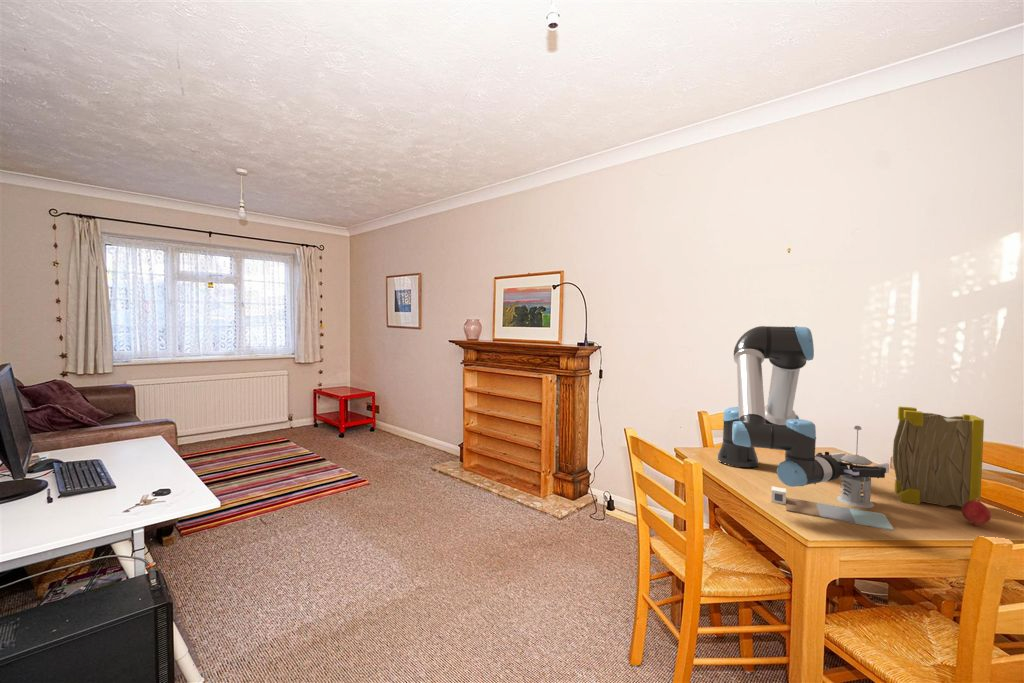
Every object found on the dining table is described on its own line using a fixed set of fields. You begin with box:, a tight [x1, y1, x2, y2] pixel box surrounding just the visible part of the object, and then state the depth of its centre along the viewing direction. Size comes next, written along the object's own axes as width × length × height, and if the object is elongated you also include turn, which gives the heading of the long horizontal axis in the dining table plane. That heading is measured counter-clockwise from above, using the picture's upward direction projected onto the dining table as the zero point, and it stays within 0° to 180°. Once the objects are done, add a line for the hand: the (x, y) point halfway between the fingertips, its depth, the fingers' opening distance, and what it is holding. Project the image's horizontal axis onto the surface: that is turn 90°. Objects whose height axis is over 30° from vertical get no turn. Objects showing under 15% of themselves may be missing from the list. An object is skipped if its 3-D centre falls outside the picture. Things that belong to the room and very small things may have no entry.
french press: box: [836, 425, 875, 509], centre depth 145 cm, size 10×12×25 cm
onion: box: [961, 498, 992, 527], centre depth 129 cm, size 6×6×8 cm
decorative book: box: [892, 406, 985, 508], centre depth 146 cm, size 20×11×30 cm, turn 58°
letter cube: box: [770, 485, 787, 506], centre depth 145 cm, size 4×4×4 cm
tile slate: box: [816, 501, 855, 524], centre depth 136 cm, size 8×12×1 cm
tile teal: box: [848, 507, 894, 531], centre depth 132 cm, size 8×12×1 cm
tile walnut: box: [785, 496, 821, 518], centre depth 141 cm, size 8×12×1 cm
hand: (864, 462), depth 146 cm, fingers open, 12 cm apart
